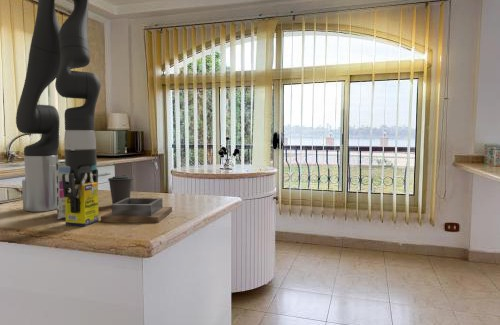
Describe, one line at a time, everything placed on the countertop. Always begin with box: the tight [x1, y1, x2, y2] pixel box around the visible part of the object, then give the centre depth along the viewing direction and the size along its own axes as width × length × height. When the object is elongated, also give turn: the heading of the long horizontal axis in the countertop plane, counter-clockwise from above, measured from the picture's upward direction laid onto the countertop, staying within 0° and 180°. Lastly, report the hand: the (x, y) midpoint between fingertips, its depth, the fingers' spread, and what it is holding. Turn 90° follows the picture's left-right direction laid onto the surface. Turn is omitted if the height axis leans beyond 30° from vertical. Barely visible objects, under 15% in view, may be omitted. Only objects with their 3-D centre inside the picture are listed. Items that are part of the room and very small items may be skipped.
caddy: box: [100, 197, 173, 224], centre depth 101 cm, size 16×14×4 cm
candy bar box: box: [56, 159, 70, 221], centre depth 102 cm, size 11×5×16 cm, turn 23°
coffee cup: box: [107, 174, 134, 205], centre depth 117 cm, size 8×8×10 cm
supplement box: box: [65, 182, 100, 227], centre depth 92 cm, size 6×6×11 cm
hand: (82, 209), depth 93 cm, fingers closed on supplement box, 6 cm apart
